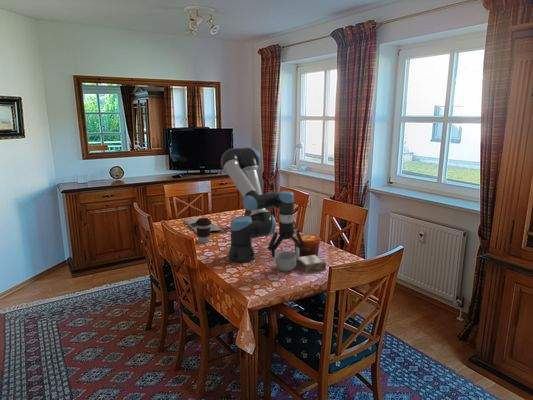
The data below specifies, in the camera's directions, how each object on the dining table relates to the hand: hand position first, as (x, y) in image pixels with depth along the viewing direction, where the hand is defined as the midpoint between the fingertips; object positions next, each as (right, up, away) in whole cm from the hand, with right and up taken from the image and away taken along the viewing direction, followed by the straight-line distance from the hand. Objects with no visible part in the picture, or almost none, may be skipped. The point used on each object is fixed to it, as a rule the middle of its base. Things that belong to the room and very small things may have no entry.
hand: (286, 260), depth 194 cm
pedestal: (+13, -4, +2) cm, 14 cm away
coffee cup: (-51, +5, +43) cm, 66 cm away
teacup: (0, -4, +1) cm, 4 cm away
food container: (+13, 0, +20) cm, 24 cm away
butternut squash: (-20, +12, +73) cm, 76 cm away
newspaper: (-56, +12, +75) cm, 94 cm away
